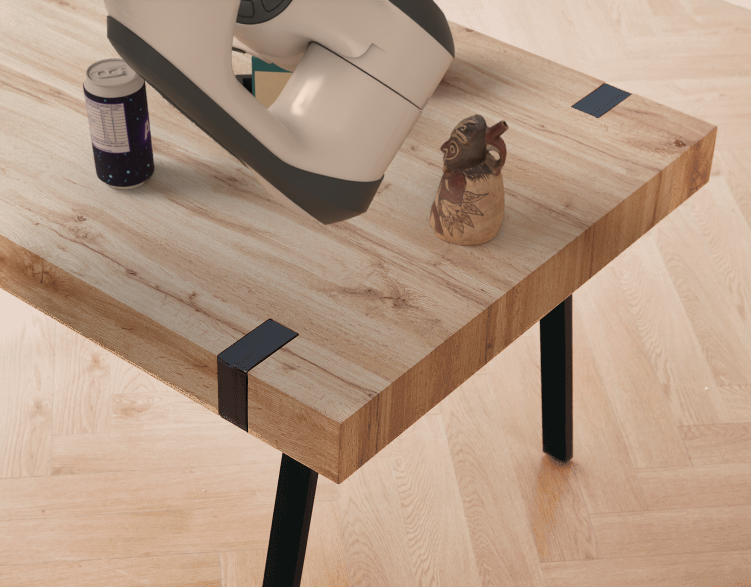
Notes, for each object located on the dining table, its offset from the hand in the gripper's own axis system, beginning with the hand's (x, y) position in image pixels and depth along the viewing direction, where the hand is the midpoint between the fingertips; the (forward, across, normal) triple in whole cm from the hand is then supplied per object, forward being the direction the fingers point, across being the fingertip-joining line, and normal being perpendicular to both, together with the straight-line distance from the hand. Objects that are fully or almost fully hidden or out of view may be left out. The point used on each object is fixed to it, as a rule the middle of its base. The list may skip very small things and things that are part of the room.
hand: (332, 43), depth 101 cm
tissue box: (+14, +7, +6) cm, 17 cm away
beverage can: (+3, +19, +16) cm, 25 cm away
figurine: (+4, -15, +15) cm, 21 cm away
